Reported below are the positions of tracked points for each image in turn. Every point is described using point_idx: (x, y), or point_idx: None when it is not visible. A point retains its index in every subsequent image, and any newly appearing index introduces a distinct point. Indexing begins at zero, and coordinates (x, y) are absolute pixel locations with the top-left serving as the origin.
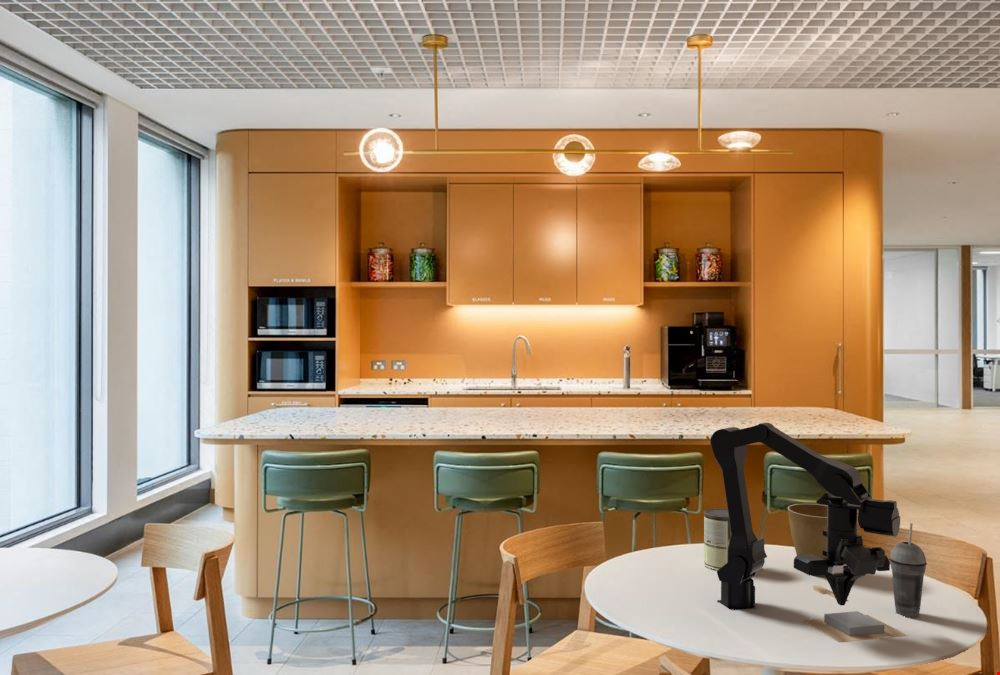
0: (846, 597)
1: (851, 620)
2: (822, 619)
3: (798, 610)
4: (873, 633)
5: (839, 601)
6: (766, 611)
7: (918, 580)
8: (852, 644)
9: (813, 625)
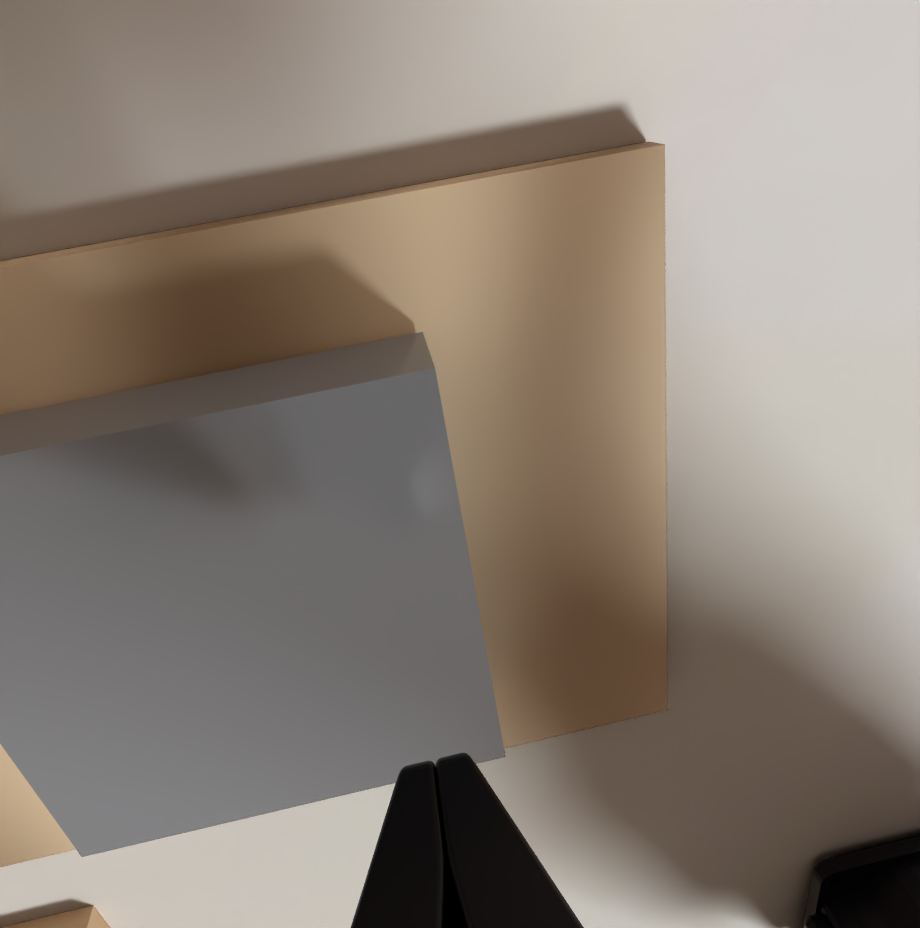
0: (392, 894)
1: (281, 613)
2: None
3: None
4: (63, 405)
5: (501, 814)
6: (760, 854)
7: None
8: (459, 164)
9: (638, 614)
